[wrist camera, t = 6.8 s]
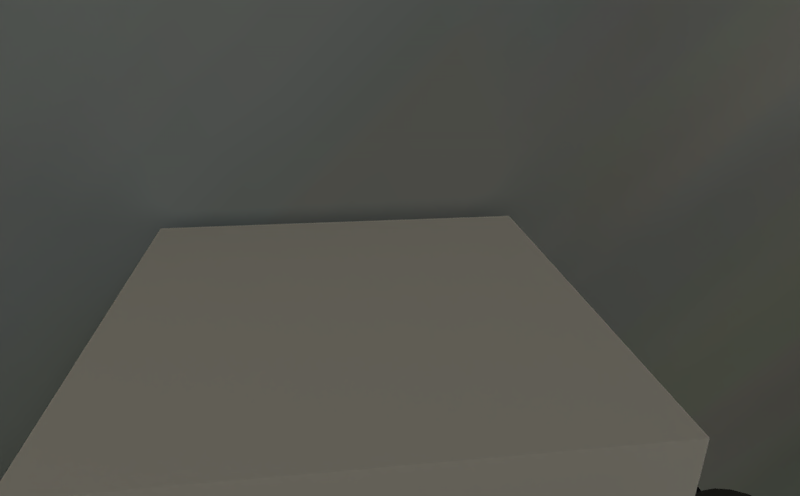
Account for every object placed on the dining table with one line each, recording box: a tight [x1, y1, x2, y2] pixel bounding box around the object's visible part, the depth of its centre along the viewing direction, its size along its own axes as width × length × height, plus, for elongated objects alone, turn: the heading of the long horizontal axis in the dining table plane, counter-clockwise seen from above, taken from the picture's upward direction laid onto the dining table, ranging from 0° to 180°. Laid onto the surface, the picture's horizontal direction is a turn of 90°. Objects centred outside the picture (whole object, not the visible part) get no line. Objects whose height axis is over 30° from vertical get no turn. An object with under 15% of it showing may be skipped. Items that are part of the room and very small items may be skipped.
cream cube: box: [0, 216, 710, 496], centre depth 9 cm, size 6×6×6 cm
